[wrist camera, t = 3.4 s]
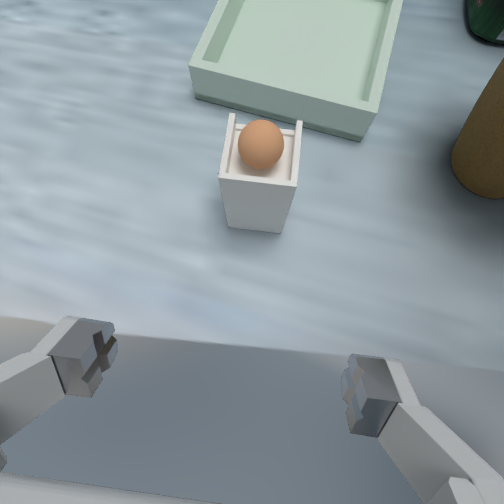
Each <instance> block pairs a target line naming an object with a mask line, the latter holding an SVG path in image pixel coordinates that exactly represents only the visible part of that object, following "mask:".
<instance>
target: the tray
mask: <svg viewBox="0 0 504 504" xmlns="http://www.w3.org/2000/svg"><path fill="white" fill-rule="evenodd" d="M402 3H403V0H219V1H218V3H217V5H216V7H215V9H214V11H213V13H212V15H211V18H210V20H209V22H208V24H207V26H206V28H205V30H204V32H203V35H202V37H201V39H200V41H199V43H198V45H197V47H196V49H195V51H194V54H193V56H192V58H191V60H190V62H189V64H188V66H189V71H190V75H191V80H192V84H193V88H194V93H195V97H196V99H200V100H203V101H207V102H211V103H215V104H219V105H222V106H226V107H230V108H234V109H237V110H241V111H245V112H249V113H253V114H256V115H260V116H264V117H268V118H271V119H275V120H279V121H283V122H286V123H290V124H294V125H296V122H297V120H299V121H303V124H302V127H305V128H309V129H313V130H317V131H320V132H324V133H328V134H332V135H336V136H339V137H343V138H347V139H351V140H354V141H358V142H361V140H362V138H363V137H364V135H365V133H366V132H367V130H368V128H369V126H370V125H371V123H372V121H373V120H374V118H375V116H376V115H377V112H378V107H379V103H380V99H381V94H382V90H383V86H384V81H385V77H386V72H387V68H388V64H389V59H390V55H391V51H392V46H393V42H394V37H395V33H396V29H397V24H398V20H399V16H400V11H401V7H402Z"/></svg>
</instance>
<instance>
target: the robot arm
mask: <svg viewBox="0 0 504 504" xmlns="http://www.w3.org/2000/svg"><path fill="white" fill-rule="evenodd" d="M114 331H115V329H114V325H113V323H111V322H105V321H99V320H93V319H86V318H79V317H72V316H67V317H64V318H63V319H62V320H61V321H60V322H59V323H58V324H57V325H56V326H55V327H54V328H53V329H52V330H51V331H50V332H49V333H48V334H47V335H46V336H45V337H44V338H43V339H42V340H41V341H40V342H39V343H38V344H37V345H36V346H35V348H34V349H33V350H32V351H31V352H30V353H23V354H21V355H18V356H16V357H14V358H12V359H10V360H8V361H6V362H4V363H2V364H0V445H1V444H2V443H4V442H5V441H6V440H8V439H9V438H10V437H12V436H13V435H14V434H15V433H17V432H18V431H20V430H21V429H22V428H23V427H25V426H26V425H27V424H29V423H30V422H31V421H33V420H34V419H36V418H37V417H38V416H40V415H41V414H42V413H44V412H45V411H46V410H48V409H49V408H50V407H52V406H53V405H54V404H55V403H57V402H58V401H60V400H61V399H62V398H64V397H65V395H74V396H82V397H92V396H93V394H94V393H95V391H96V389H97V388H98V386H99V385H100V383H101V381H102V380H103V377H102V372H104V371H105V370H107V369H109V368H110V367H111V365H112V363H113V362H114V360H115V357H116V354H117V346H118V344H117V340H116V339H115V338H114V337H113V336H112V334H113V333H114ZM348 365H349V367H348V368H347V369H345V370H344V372H343V375H342V380H341V390H342V396H343V400H344V401H345V402H346V403H347V404H348V408H347V411H346V415H347V420H348V425H349V429H350V433H352V434H358V435H364V436H370V437H376V438H378V441H379V442H380V444H381V445H382V447H383V448H384V449H385V451H386V452H387V453H388V455H389V456H390V457H391V459H392V460H393V462H394V463H395V465H396V466H397V467H398V469H399V470H400V471H401V473H402V474H403V476H404V477H405V478H406V480H407V481H408V483H409V484H410V485H411V487H412V488H413V490H414V491H415V492H416V494H417V495H418V496H419V498H420V499H421V501H422V502H423V503H424V504H504V478H502V477H501V476H500V475H499V474H498V473H497V472H496V471H495V470H494V469H493V468H492V467H490V466H489V465H488V464H487V463H486V462H485V461H484V460H483V459H482V458H481V457H480V456H479V455H478V454H476V453H475V452H474V451H473V450H472V449H471V448H470V447H469V446H468V445H467V444H466V443H465V442H463V441H462V440H461V439H460V438H459V437H458V436H457V435H456V434H455V433H454V432H453V431H452V430H450V429H449V428H448V427H447V426H446V425H445V424H444V423H443V422H442V421H441V420H439V418H438V417H436V416H435V415H434V414H433V413H432V412H431V411H430V410H429V409H428V408H427V407H424V406H421V405H420V403H419V400H418V398H417V396H416V394H415V392H414V390H413V388H412V385H411V383H410V381H409V379H408V377H407V375H406V373H405V370H404V368H403V366H402V364H401V362H400V361H399V360H398V359H391V358H381V357H375V356H367V355H359V354H351V355H350V356H349V359H348ZM6 464H7V457H6V455H5V454H4V452H3V451H2V449H1V448H0V504H218V503H212V502H204V501H198V500H191V499H184V498H178V497H171V496H164V495H157V494H150V493H143V492H137V491H129V490H122V489H115V488H109V487H102V486H95V485H88V484H82V483H75V482H67V481H61V480H54V479H47V478H40V477H33V476H26V475H20V474H13V473H6V472H1V470H2V469H3V468H4V466H5V465H6Z"/></svg>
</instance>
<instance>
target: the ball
mask: <svg viewBox="0 0 504 504" xmlns="http://www.w3.org/2000/svg"><path fill="white" fill-rule="evenodd" d="M283 150H284V139H283V135H282V133H281V131H280V129H279V128H278V127H277V126H276V125H275V124H274V123H272V122H270V121H268V120H262V119H260V120H254V121H252V122H250V123H248V124H247V125H246V126H245V127H244V128H243V129H242V131H241V133H240V135H239V138H238V151H239V154H240V156H241V158H242V160H243V161H244V162H245V163H246V164H247V165H249V166H250V167H252V168H256V169H266V168H269V167H271V166H273V165H274V164H275V163H276V162H277V161H278V160H279V159H280V157H281V155H282V153H283Z"/></svg>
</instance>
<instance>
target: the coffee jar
mask: <svg viewBox="0 0 504 504" xmlns="http://www.w3.org/2000/svg"><path fill="white" fill-rule="evenodd" d="M467 16H468V21H469V25H470V28H471V30H472V32H473V33H474V34H476V35H478V36H480V37H482V38H484V39H486V40H488V41H489V42H493V43H498V44H504V0H467Z"/></svg>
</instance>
